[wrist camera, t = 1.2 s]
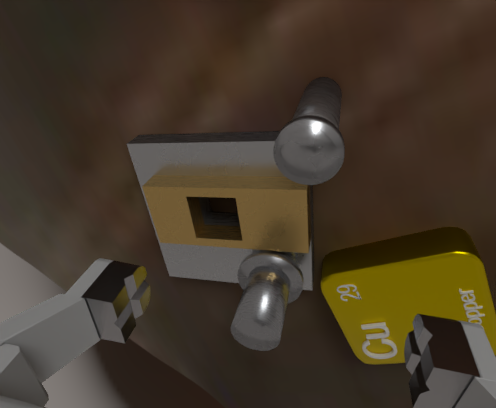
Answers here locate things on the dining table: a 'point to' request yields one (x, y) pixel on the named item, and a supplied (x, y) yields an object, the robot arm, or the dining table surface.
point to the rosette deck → (230, 221)
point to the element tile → (405, 289)
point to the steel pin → (312, 136)
